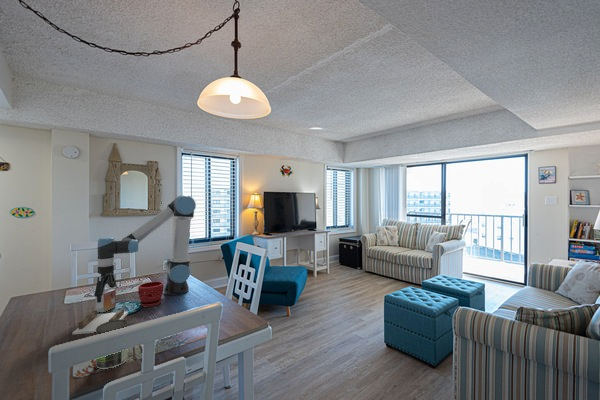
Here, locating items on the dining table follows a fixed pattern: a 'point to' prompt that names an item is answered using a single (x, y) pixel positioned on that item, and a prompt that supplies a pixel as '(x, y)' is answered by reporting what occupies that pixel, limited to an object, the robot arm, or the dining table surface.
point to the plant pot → (150, 293)
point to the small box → (107, 300)
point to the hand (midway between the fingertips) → (105, 303)
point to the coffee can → (118, 357)
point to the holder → (97, 321)
